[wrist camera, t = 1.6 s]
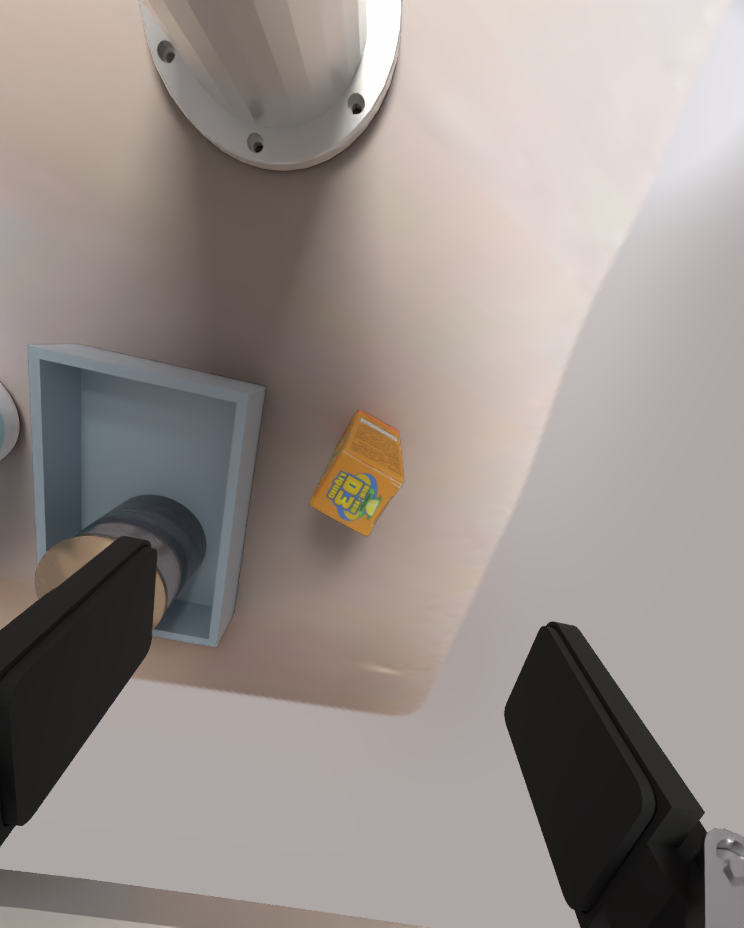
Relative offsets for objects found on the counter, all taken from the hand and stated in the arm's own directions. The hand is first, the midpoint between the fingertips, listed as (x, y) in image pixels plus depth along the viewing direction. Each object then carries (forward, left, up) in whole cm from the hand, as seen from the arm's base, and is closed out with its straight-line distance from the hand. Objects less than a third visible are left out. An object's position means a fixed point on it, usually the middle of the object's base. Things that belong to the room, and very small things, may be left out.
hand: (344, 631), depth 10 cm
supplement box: (0, 0, -18) cm, 18 cm away
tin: (+10, -13, -18) cm, 24 cm away
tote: (+7, -13, -18) cm, 23 cm away
